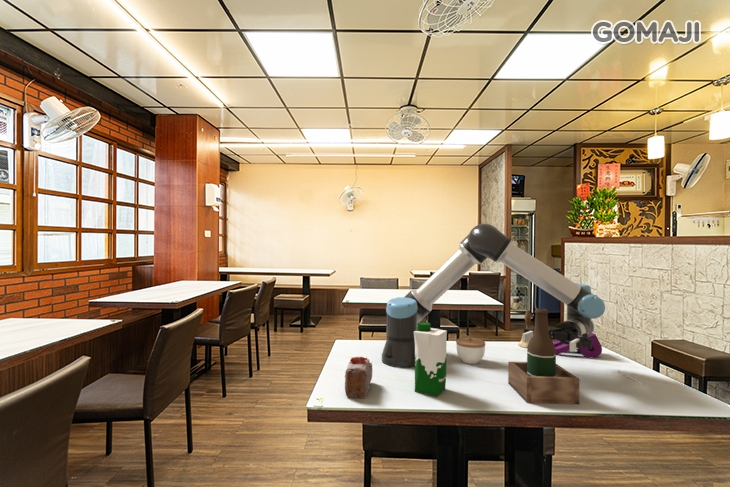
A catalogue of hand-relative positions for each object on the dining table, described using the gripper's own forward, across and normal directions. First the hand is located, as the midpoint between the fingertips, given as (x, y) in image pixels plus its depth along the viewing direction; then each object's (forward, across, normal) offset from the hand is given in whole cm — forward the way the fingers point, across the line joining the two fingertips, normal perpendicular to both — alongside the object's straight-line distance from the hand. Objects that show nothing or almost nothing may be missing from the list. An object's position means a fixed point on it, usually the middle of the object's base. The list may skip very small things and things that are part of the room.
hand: (546, 342), depth 109 cm
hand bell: (-49, +25, -15) cm, 57 cm away
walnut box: (+2, 0, -15) cm, 15 cm away
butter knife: (-29, -19, -15) cm, 38 cm away
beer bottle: (+2, 0, -14) cm, 14 cm away
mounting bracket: (-50, +8, -15) cm, 53 cm away
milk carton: (+26, +24, -15) cm, 38 cm away
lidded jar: (-9, +31, -15) cm, 36 cm away
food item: (+41, +39, -15) cm, 59 cm away
